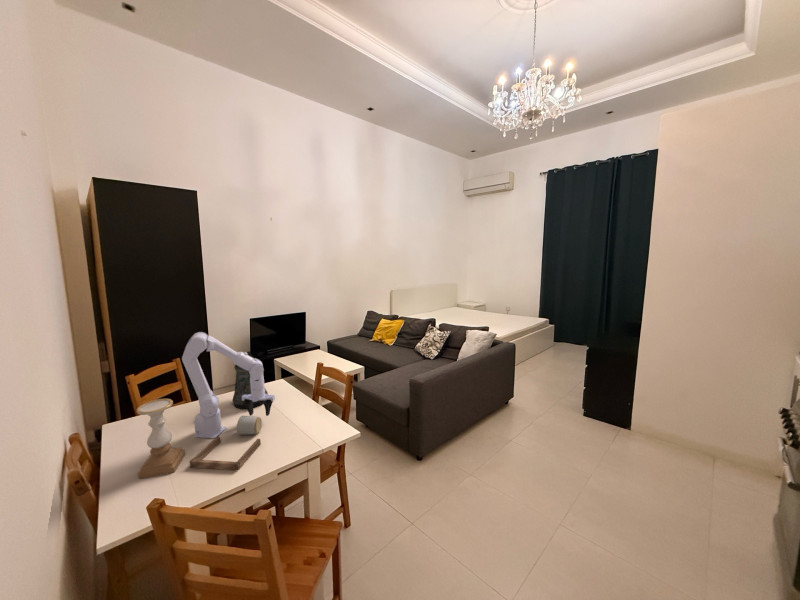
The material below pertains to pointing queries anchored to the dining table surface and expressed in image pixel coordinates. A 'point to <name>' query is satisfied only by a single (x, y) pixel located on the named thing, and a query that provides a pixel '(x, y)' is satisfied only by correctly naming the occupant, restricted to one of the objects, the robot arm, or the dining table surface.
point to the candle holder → (159, 441)
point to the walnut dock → (222, 465)
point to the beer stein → (243, 388)
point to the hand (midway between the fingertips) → (259, 414)
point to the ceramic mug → (249, 425)
